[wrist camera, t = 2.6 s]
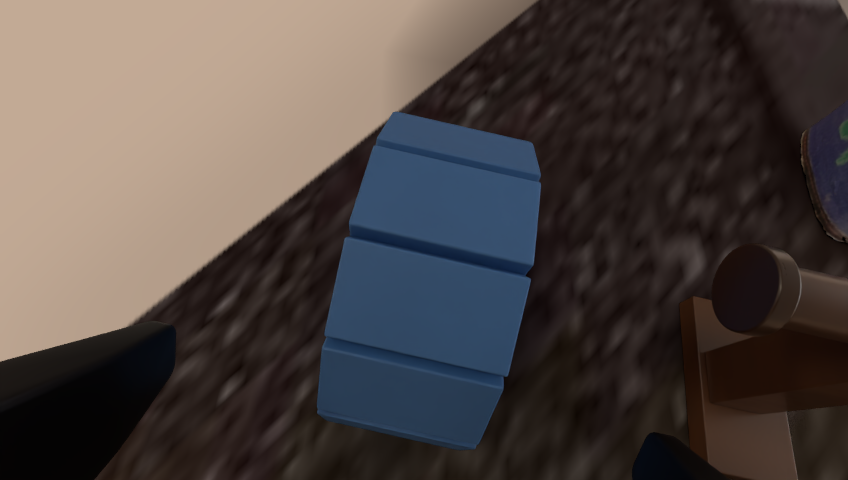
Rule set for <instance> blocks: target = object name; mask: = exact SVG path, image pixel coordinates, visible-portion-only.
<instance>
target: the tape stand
mask: <svg viewBox="0 0 848 480" xmlns="http://www.w3.org/2000/svg"><path fill="white" fill-rule="evenodd" d="M711 298H712V300H708V299H704V298H699V297H695V296H693V297H691V298H689V299H687V300H685V301H683V302H681V303H679V308H680V321H681V335H682V348H683V362H684V375H685V389H686V402H687V416H688V429H689V443H690V449H691V450H692V451H694V452H695V453H696V454H697V455H699V456H700V457H701V458H703V459H704V460H705V461H707V462H708V463H709V464H710V465H712V466H713V467H714V468H716V469H717V470H718V471H719V472H721V473H722V474H723V475H725V476H726V477H727V478H730V479H735V480H798V477H797V471H796V465H795V459H794V453H793V448H792V442H791V436H790V430H789V424H788V419H787V413H786V412H787V411H796V410H806V409H815V408H824V407H833V406H842V405H848V279H847V278H843V277H839V276H834V275H830V274H825V273H821V272H816V271H812V270H808V269H803V268H799V267H798V266H797V264H796V263H795V261H794V260H793V258H792V257H791V256H790V255H789V254H787V253H786V252H785V251H783V250H781V249H779V248H776V247H771V246H767V245H762V244H757V243H751V244H745V245H742V246H740V247H738V248H736V249H735V250H733V251H732V252H731V253H729V254H728V255H727V256H726V257H725V259H724V260H723V261H722V263H721V264H720V266H719V268H718V270H717V272H716V274H715V277H714V280H713V285H712V293H711Z"/></svg>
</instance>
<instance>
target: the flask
mask: <svg viewBox="0 0 848 480" xmlns="http://www.w3.org/2000/svg"><path fill="white" fill-rule="evenodd" d="M801 154H802V158H801V161H802V162H801V163H802V166H803V168H804V169H803V172H804V173H805V174H806V177H807V183H806V184H807V186H808V188H809V193H810V197H811V200H812V202H813V204H814V205H813V206H814V208H815V214H816V216H817V218H818V220H819V221H820V222H821V224H822V225H823V228H824V230H825V231H826V233H827V235H829V236H831V237H832V238H833V239H835V240H837V241H841V242H846V241H847V242H846V243H848V100H847V101H846V102H844V103H843V104H842V105H841V106H839V107H838V108H837V109H835V110H834V111H833V112H832V113H830V114H829V115H828V116H826V117H824V118H823V119H821V120H820V121H819V122H818V123H817V124H815V125H813V126H811V127H810V128H809V129H807V130H806V131H804V133H803V134H802V138H801ZM842 237H845V238H846V239H845V240H846V241H843V240H842Z"/></svg>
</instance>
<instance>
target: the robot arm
mask: <svg viewBox="0 0 848 480" xmlns="http://www.w3.org/2000/svg"><path fill="white" fill-rule="evenodd" d="M175 352H176V330H175V328H174V327H173V326H172V325H169V324H165V323H160V322H156V321H148V322H145V323H141V324H137V325H134V326H130V327H126V328H123V329H119V330H115V331H112V332H108V333H104V334H100V335H97V336H93V337H89V338H86V339H83V340H79V341H75V342H71V343H68V344H64V345H60V346H56V347H53V348H49V349H45V350H42V351H38V352H34V353H30V354H27V355H23V356H19V357H16V358H12V359H8V360H5V361H2V362H0V480H94V479H95V478H96V477H97V476H98V475H99V473H100V472H101V471H102V470H103V469H104V467H105V466H106V465H107V464H108V463H109V461H110V460H111V459H112V458H113V457H114V455H115V454H116V453H117V452H118V450H119V449H120V448H121V446H122V445H123V444H124V442H125V441H126V440H127V438H128V437H129V435H130V434H131V432H132V431H133V430H134V428H135V427H136V425H137V424H138V422H139V421H140V419H141V418H142V417H143V415H144V414H145V412H146V411H147V409H148V408H149V406H150V405H151V404H152V402H153V401H154V399H155V398H156V396H157V395H158V393H159V392H160V391H161V389H162V388H163V386H164V385H165V383H166V382H167V380H168V379H169V377H170V376H171V374H172V372H173V369H174V366H175ZM632 478H633V480H730V479H728V478H727V477H726V476H725V475H723V474H722V473H721V472H719V471H718V470H717V469H716V468H714V467H713V466H712V465H710V464H709V463H708V462H707V461H705V460H704V459H703V458H701V457H700V456H699V455H697V454H696V453H695V452H694V451H692V450H691V449H690V448H688V447H687V446H686V445H685V444H683V443H682V442H681V441H679V440H678V439H677V438H675V437H673V436H670V435H665V434H660V433H656V432H653V433H650V434H649V435H648V436H647V437H646V439H645V441H644V443H643V445H642V447H641V449H640V451H639V454H638V456H637V458H636V460H635V462H634V465H633V469H632Z"/></svg>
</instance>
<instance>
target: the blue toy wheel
mask: <svg viewBox="0 0 848 480" xmlns="http://www.w3.org/2000/svg"><path fill="white" fill-rule="evenodd" d="M540 176H541V174H540V170H539V166H538V162H537V158H536V154H535V150H534V147H533V144H532V143H530V142H528V141H524V140H519V139H515V138H510V137H506V136H501V135H497V134H493V133H488V132H484V131H479V130H475V129H471V128H466V127H462V126H457V125H453V124H448V123H444V122H440V121H435V120H431V119H426V118H422V117H418V116H413V115H409V114H404V113H400V112H393V113H392V115H391V116H390V118H389V120H388V121H387V123H386V124H385V126H384V128H383V129H382V131H381V133H380V134H379V136H378V137H377V141H376V146H374V147H373V149H372V152H371V156H370V159H369V162H368V165H367V168H366V171H365V174H364V177H363V180H362V184H361V187H360V190H359V193H358V196H357V199H356V202H355V205H354V208H353V212H352V215H351V218H350V221H349V228H350V236H349V237H346V238H345V240H344V244H343V249H342V254H341V258H340V263H339V268H338V272H337V277H336V281H335V286H334V291H333V295H332V300H331V305H330V309H329V314H328V318H327V323H326V328H325V332H324V334H325V336H327V337H326V339H325V342H324V344H323V346H322V353H321V365H320V376H319V388H318V400H317V408H318V411H317V414H319V415H320V416H321V417H323V418H324V419H325V420H327V421H331V422H335V423H340V424H344V425H349V426H353V427H358V428H362V429H367V430H371V431H375V432H380V433H384V434H389V435H393V436H398V437H402V438H407V439H411V440H415V441H420V442H424V443H429V444H433V445H438V446H442V447H447V448H451V449H455V450H471V449H475V448H476V445H478V444H479V442H480V440H481V438H482V436H483V434H484V431H485V429H486V427H487V425H488V423H489V420H490V418H491V416H492V414H493V411H494V409H495V407H496V405H497V403H498V400H499V398H500V396H501V394H502V392H503V389H504V382H503V376H504V377H507V376H508V374H509V370H510V366H511V361H512V357H513V353H514V349H515V345H516V341H517V337H518V332H519V328H520V324H521V320H522V316H523V312H524V307H525V303H526V299H527V295H528V291H529V287H530V283H531V279H530V278H528V277H527V276H525V275H526V274H527V272H528V271H529V270H530V269H531V268H532V266H533V265H534V256H535V245H536V234H537V223H538V212H539V201H540V190H541V183H539V179H540Z"/></svg>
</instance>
